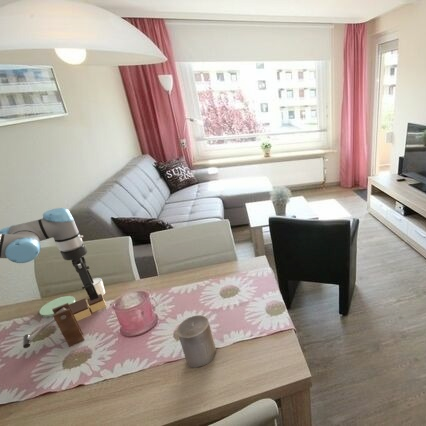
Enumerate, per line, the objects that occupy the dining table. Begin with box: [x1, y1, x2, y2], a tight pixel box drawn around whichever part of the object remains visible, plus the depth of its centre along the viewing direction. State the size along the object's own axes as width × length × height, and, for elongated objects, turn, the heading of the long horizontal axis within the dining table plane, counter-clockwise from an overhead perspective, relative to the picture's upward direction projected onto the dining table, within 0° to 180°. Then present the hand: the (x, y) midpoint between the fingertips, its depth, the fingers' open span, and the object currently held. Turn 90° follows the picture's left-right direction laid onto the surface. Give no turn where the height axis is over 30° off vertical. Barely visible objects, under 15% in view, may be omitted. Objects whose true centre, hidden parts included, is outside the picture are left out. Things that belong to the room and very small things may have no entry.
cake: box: [69, 298, 92, 322], centre depth 119 cm, size 8×8×5 cm
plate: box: [39, 295, 77, 318], centre depth 127 cm, size 12×12×1 cm
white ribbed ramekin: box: [82, 277, 106, 297], centre depth 132 cm, size 7×7×7 cm
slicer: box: [22, 307, 66, 349], centre depth 100 cm, size 14×6×2 cm, turn 132°
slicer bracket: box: [52, 303, 85, 348], centre depth 105 cm, size 10×8×16 cm
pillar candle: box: [176, 314, 217, 368], centre depth 98 cm, size 10×10×15 cm
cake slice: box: [86, 294, 107, 314], centre depth 124 cm, size 5×5×5 cm
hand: (92, 291), depth 121 cm, fingers open, 13 cm apart
